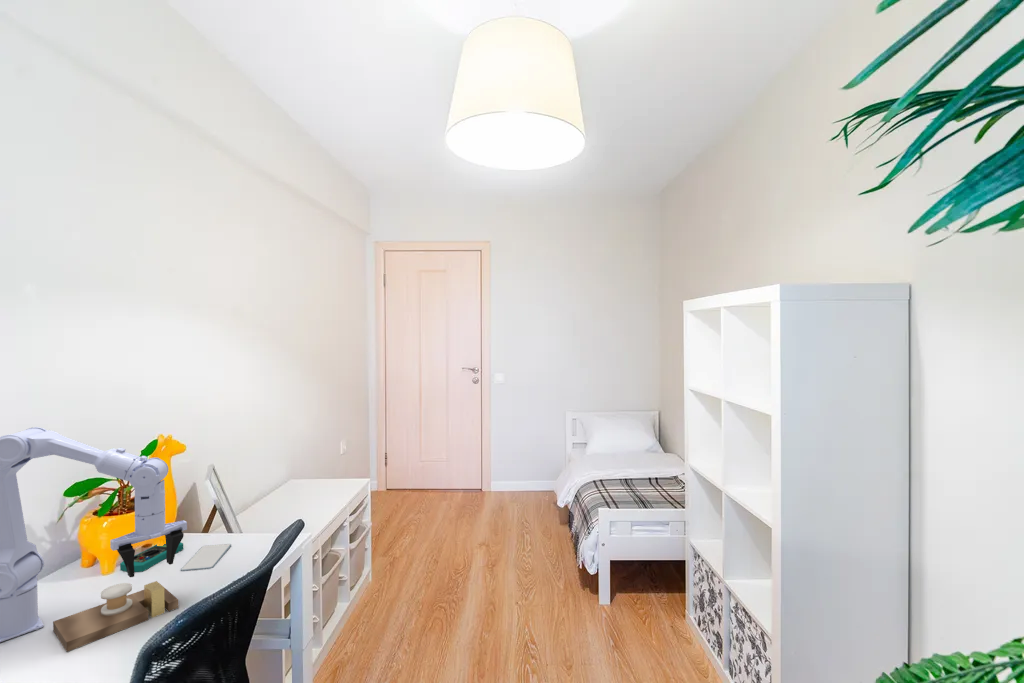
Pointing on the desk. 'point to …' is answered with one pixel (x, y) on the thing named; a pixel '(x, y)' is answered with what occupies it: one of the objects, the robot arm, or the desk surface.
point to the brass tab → (154, 598)
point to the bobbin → (116, 599)
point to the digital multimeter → (149, 558)
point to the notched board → (104, 621)
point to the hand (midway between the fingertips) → (150, 569)
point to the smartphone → (206, 557)
